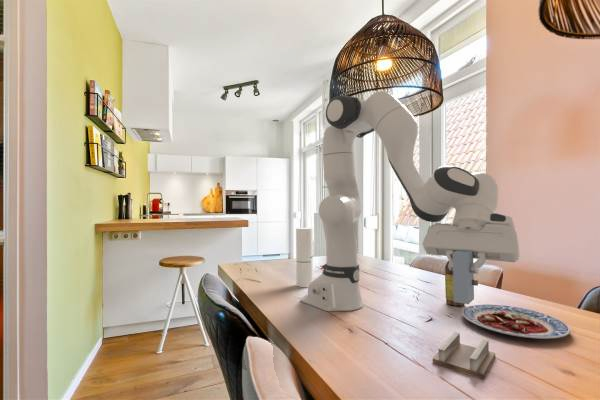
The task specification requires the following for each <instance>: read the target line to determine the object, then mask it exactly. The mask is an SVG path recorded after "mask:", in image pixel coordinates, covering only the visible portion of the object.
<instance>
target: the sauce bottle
mask: <svg viewBox="0 0 600 400" xmlns="http://www.w3.org/2000/svg"><path fill="white" fill-rule="evenodd" d="M452 261H453V259H452ZM448 264H449V260H448V261H447V262H446V264H445V267H444V272H445V273H444V283H445V285H444V286H445V289H444V290H445V302H446V304H447V305H450V306H455V307H463V306H465V305H466V304H464V303H458V302H454V292H453V271H452V270H449V268H448Z"/></svg>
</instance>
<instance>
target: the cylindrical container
mask: <svg viewBox="0 0 600 400" xmlns="http://www.w3.org/2000/svg"><path fill="white" fill-rule="evenodd" d="M313 237H314V236H313V227H296V228H295V242H296V243H295V245H296V247H295V249H296V250H295V251H296V253H295V255H296V261H295V262H296V265H295V266H296V267H295V268H296V270H295V271H296V287H297V286H300V287H309V285H310V283H311V282H312V281H314V273H313V272H314V268H313V267H314V263H313V262H314V258H313V256H314V254H313V251H314V250H313V242H314V241H313ZM300 287H299V288H300Z"/></svg>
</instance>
